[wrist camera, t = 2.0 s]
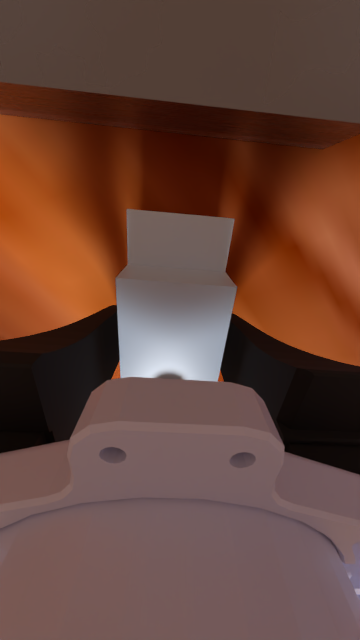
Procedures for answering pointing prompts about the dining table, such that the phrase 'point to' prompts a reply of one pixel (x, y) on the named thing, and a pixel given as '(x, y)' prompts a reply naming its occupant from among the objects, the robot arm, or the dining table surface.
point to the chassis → (187, 66)
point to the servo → (174, 296)
